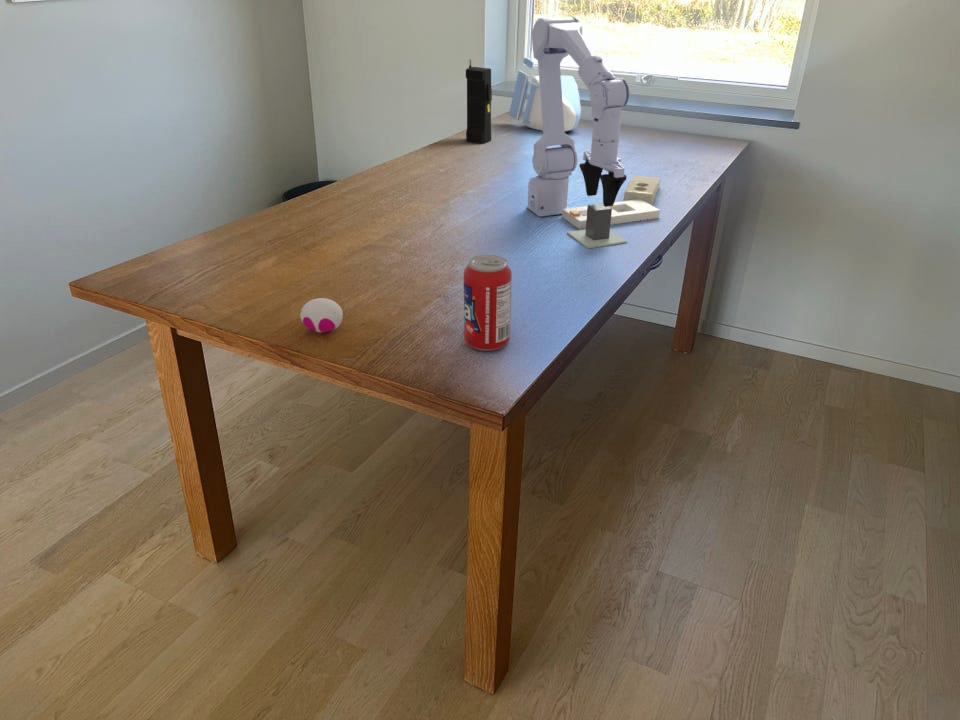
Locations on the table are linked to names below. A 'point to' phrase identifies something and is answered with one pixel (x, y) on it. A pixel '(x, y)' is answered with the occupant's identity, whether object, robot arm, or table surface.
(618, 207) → the power strip
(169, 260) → the table surface
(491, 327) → the soda can
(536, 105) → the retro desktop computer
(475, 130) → the portable radio
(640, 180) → the electrical outlet
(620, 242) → the mat
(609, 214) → the charger
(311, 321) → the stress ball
